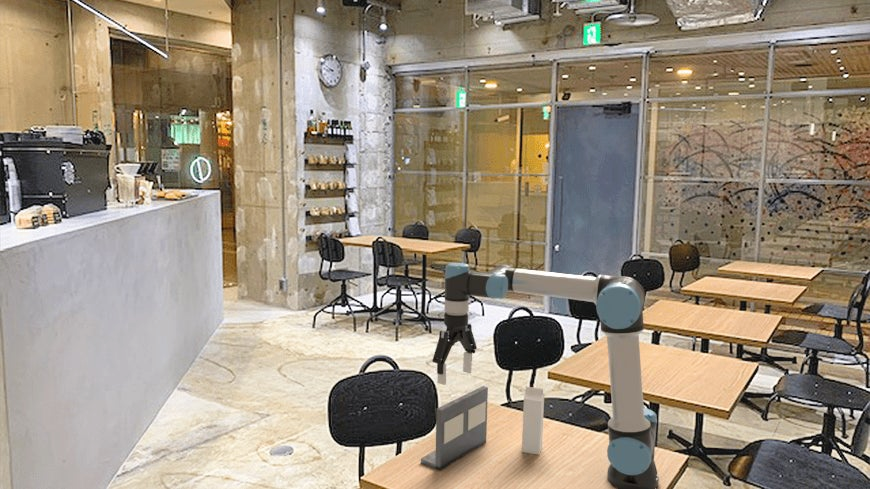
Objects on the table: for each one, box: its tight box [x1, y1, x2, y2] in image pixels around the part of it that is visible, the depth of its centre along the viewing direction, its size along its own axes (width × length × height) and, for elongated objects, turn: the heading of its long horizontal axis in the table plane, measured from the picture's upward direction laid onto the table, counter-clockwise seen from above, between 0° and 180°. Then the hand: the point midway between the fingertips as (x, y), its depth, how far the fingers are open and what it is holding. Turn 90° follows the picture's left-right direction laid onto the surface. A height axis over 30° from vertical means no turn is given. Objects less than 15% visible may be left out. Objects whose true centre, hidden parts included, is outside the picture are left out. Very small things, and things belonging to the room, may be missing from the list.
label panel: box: [420, 385, 489, 471], centre depth 208 cm, size 8×26×20 cm, turn 142°
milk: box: [521, 386, 545, 455], centre depth 211 cm, size 6×6×22 cm
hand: (454, 377), depth 199 cm, fingers open, 13 cm apart
